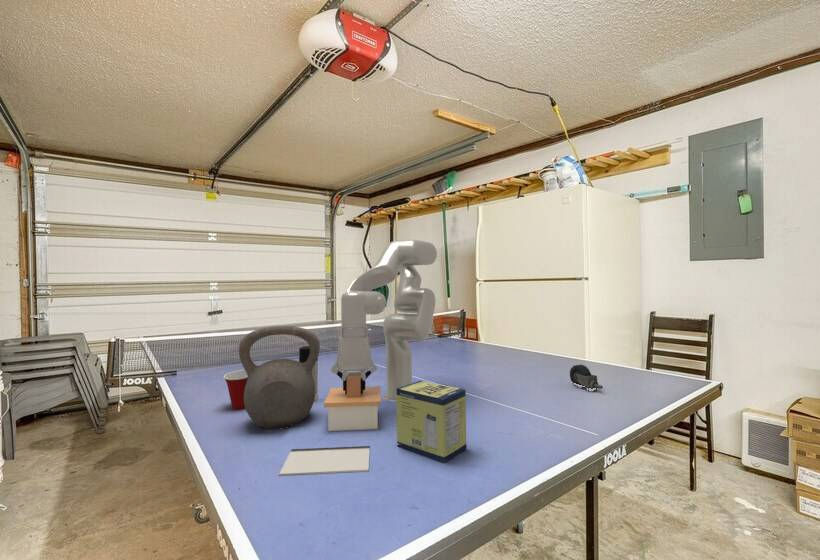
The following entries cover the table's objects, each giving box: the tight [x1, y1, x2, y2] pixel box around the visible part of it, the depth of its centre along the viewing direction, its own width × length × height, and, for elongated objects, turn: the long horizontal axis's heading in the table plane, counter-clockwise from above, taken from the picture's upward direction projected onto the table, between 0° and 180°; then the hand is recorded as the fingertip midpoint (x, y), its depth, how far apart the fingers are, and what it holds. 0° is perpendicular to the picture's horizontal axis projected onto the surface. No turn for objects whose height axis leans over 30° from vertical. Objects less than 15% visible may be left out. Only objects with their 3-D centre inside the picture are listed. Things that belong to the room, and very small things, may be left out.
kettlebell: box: [238, 325, 321, 430], centre depth 120 cm, size 24×17×30 cm
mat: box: [278, 445, 371, 477], centre depth 98 cm, size 20×20×1 cm
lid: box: [323, 371, 382, 408], centre depth 118 cm, size 16×16×7 cm
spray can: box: [298, 345, 319, 402], centre depth 141 cm, size 7×7×20 cm
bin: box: [327, 406, 379, 432], centre depth 118 cm, size 14×14×8 cm
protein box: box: [396, 380, 468, 464], centre depth 101 cm, size 10×16×16 cm
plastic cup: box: [223, 369, 248, 410], centre depth 136 cm, size 11×11×12 cm
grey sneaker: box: [569, 364, 603, 390], centre depth 154 cm, size 6×10×15 cm
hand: (354, 392), depth 118 cm, fingers closed on lid, 4 cm apart
